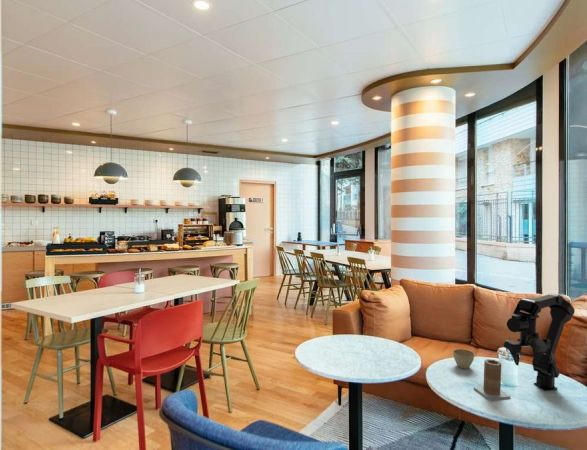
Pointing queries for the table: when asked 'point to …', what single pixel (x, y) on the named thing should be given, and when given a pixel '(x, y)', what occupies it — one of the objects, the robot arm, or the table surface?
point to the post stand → (492, 397)
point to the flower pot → (463, 357)
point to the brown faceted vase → (492, 377)
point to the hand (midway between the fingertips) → (526, 364)
